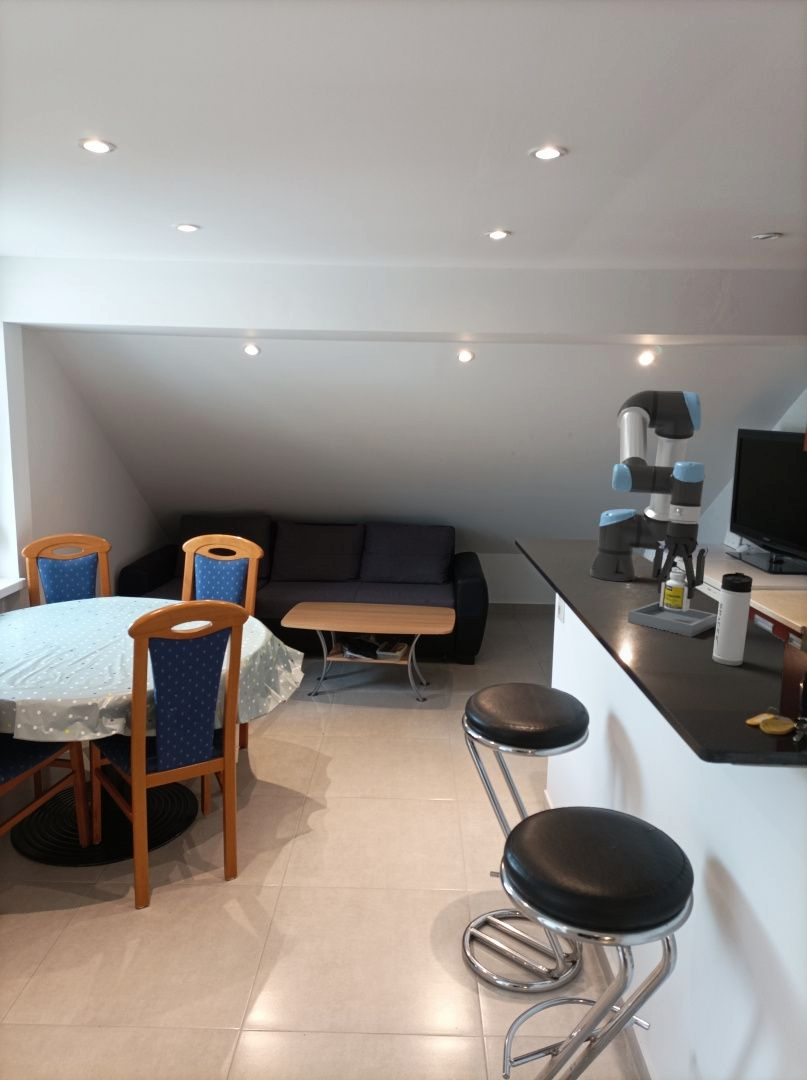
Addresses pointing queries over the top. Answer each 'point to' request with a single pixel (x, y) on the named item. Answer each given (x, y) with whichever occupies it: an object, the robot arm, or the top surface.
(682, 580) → the supplement bottle
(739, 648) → the travel mug
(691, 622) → the tray
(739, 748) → the top surface
